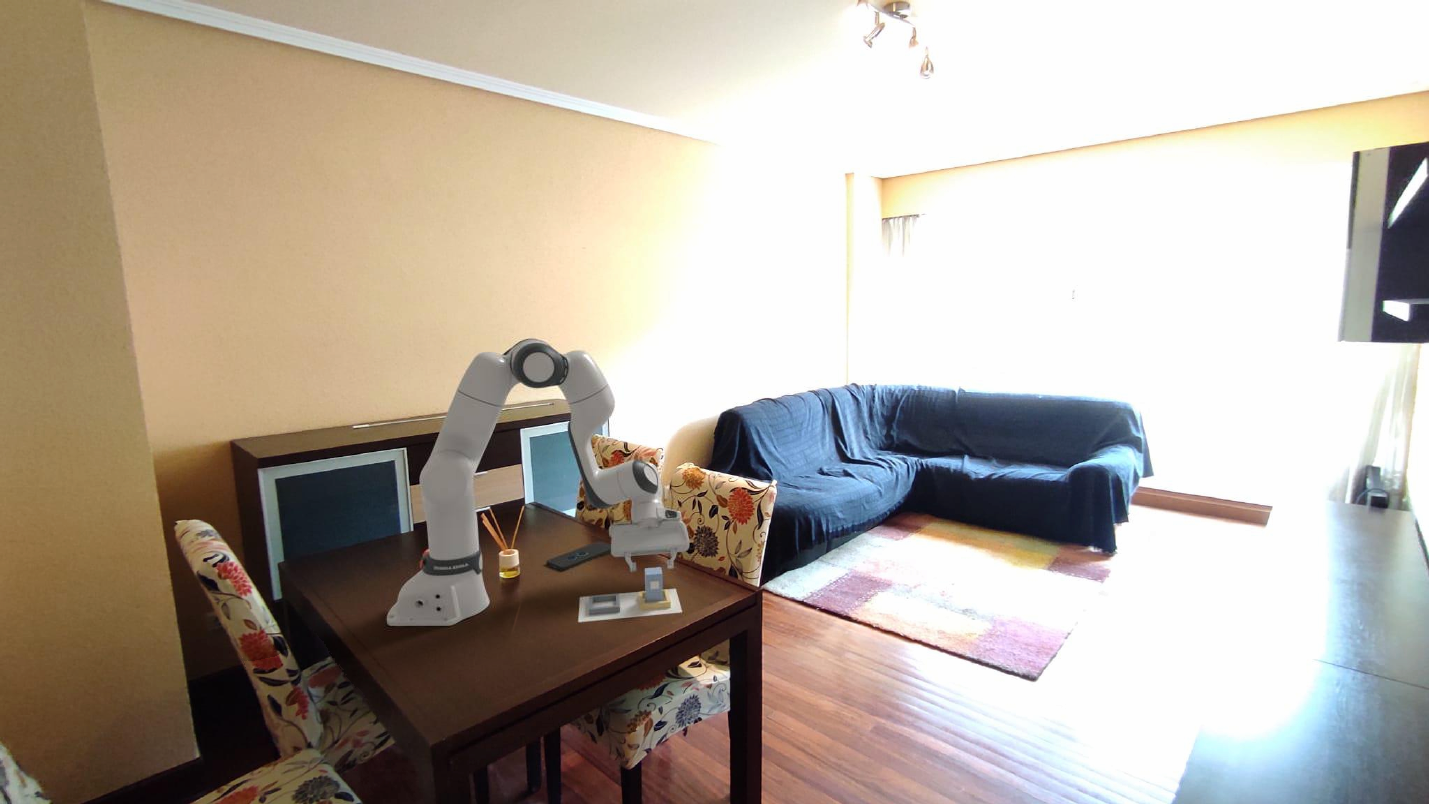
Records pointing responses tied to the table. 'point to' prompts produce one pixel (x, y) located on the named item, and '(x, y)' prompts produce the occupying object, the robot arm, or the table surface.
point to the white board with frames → (626, 606)
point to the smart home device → (579, 556)
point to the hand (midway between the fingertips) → (652, 569)
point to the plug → (653, 584)
